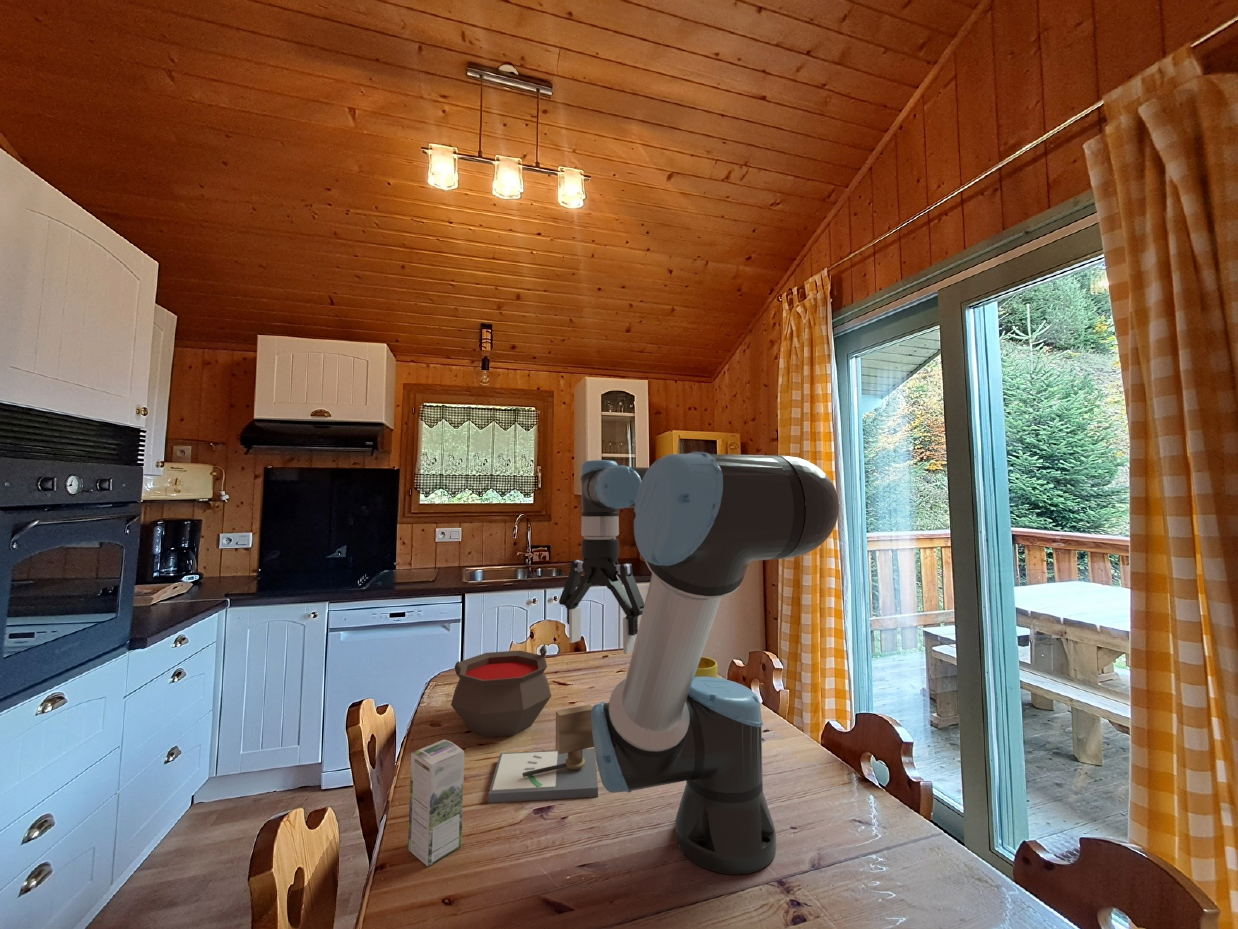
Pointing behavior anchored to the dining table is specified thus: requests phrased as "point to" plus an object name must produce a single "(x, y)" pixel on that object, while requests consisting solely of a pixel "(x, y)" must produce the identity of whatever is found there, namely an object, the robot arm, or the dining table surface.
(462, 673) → the brown soup pot
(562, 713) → the wooden pointer lever
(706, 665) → the plant pot
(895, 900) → the dining table surface
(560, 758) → the tuner board
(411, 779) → the syrup box
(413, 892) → the dining table surface
